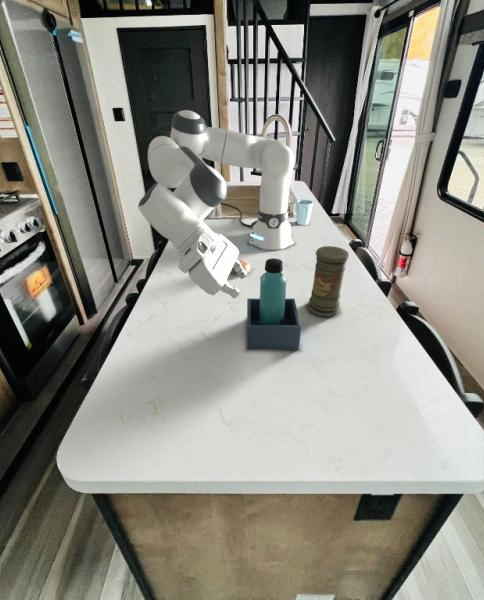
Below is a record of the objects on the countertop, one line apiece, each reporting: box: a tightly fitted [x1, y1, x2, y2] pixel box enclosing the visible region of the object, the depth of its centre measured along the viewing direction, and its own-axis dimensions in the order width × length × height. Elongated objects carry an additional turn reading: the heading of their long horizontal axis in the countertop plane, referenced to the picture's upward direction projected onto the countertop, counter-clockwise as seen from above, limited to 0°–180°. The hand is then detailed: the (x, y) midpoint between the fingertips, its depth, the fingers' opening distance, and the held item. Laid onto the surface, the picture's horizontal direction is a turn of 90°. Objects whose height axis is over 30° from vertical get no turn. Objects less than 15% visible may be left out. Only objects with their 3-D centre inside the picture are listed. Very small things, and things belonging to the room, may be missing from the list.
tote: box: [246, 298, 302, 351], centre depth 82 cm, size 13×13×7 cm
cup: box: [296, 199, 314, 226], centre depth 154 cm, size 8×8×10 cm
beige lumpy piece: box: [230, 258, 252, 275], centre depth 112 cm, size 8×6×8 cm
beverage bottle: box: [259, 257, 288, 325], centre depth 78 cm, size 6×7×20 cm
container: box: [307, 245, 350, 318], centre depth 89 cm, size 9×9×18 cm
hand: (241, 285), depth 78 cm, fingers open, 8 cm apart
